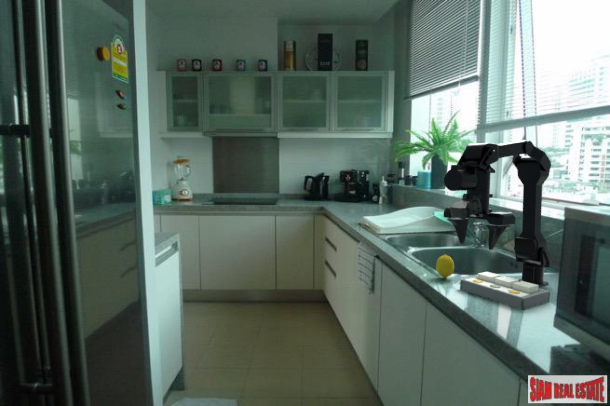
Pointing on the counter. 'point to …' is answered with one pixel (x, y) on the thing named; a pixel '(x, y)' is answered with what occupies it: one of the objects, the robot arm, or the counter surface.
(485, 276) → the button
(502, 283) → the button
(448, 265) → the lemon
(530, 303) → the board
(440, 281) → the counter surface
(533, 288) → the button
